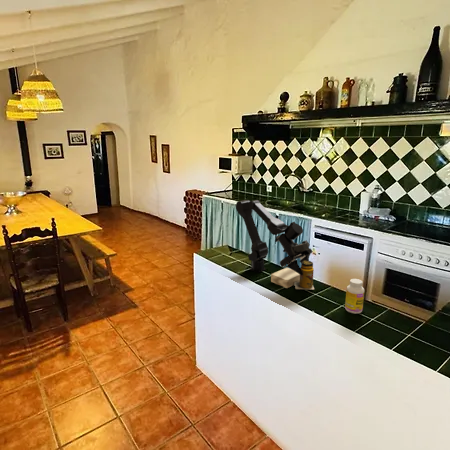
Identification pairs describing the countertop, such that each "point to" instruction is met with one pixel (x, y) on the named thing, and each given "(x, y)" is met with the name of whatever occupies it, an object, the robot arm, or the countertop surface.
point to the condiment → (306, 276)
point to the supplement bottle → (354, 296)
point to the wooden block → (285, 277)
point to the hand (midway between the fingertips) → (306, 272)
